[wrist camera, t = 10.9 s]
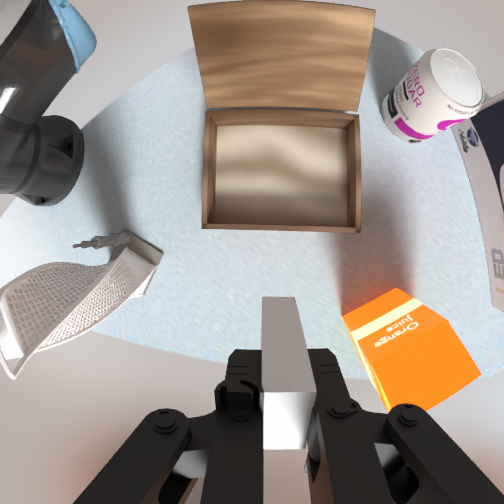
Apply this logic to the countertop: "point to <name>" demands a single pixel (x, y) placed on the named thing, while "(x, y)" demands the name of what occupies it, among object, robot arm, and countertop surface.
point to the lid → (282, 53)
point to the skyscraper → (71, 297)
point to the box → (281, 171)
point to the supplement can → (433, 96)
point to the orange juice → (409, 351)
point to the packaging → (487, 182)
